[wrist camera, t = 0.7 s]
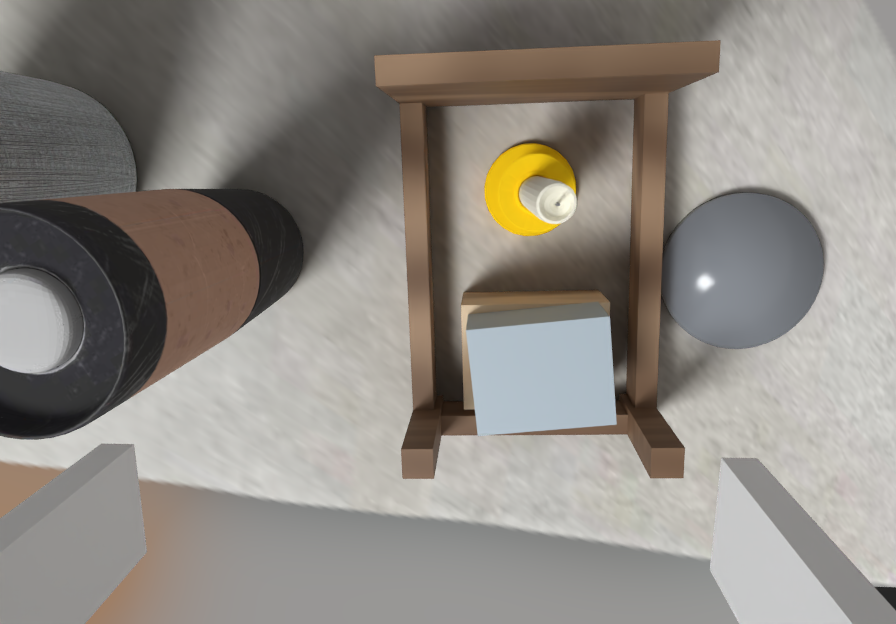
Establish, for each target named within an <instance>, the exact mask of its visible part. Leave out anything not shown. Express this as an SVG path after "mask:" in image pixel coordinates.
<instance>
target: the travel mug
mask: <svg viewBox="0 0 896 624" xmlns="http://www.w3.org/2000/svg"><path fill="white" fill-rule="evenodd" d="M302 262H303V243H302V238H301V235H300V232H299V229H298V227H297V225H296V223H295V221H294V220H293V218H292V216H291V215H290V214H289V213H288V211H287V210H286V209H285V208H284V207H283V206H282V205H281V204H279V203H278V202H277V201H275V200H274V199H272V198H270V197H268V196H267V195H264V194H262V193H259V192H255V191H250V190H242V189H162V190H150V191H139V192H127V193H115V194H103V195H91V196H79V197H67V198H55V199H43V200H31V201H19V202H7V203H0V436H3V437H8V438H15V439H45V438H52V437H56V436H60V435H64V434H67V433H70V432H72V431H74V430H77V429H79V428H81V427H83V426H85V425H87V424H89V423H90V422H92V421H94V420H95V419H97V418H99V417H100V416H102V415H104V414H105V413H107V412H108V411H110V410H112V409H113V408H115V407H116V406H118V405H120V404H121V403H123V402H124V401H126V400H128V399H129V398H131V397H133V396H134V395H136V394H137V393H139V392H141V391H142V390H144V389H145V388H147V387H149V386H150V385H152V384H154V383H155V382H157V381H158V380H160V379H162V378H163V377H165V376H166V375H168V374H170V373H171V372H173V371H175V370H176V369H178V368H179V367H181V366H183V365H184V364H186V363H187V362H189V361H191V360H192V359H194V358H196V357H197V356H199V355H200V354H202V353H204V352H205V351H207V350H208V349H210V348H212V347H213V346H215V345H217V344H218V343H220V342H221V341H223V340H225V339H226V338H228V337H229V336H231V335H232V334H234V333H235V332H236V331H238V330H239V329H240V328H242V327H243V326H244V325H246V324H247V323H248V322H250V321H251V320H252V319H254V318H255V317H256V316H258V315H259V314H260V313H262V312H263V311H264V310H266V309H267V308H268V307H270V306H271V305H272V304H274V303H275V302H276V301H277V300H279V299H280V298H281V297H282V296H283V295H285V294H286V293H287V292H288V290H289V289H290V288H291V287H292V286H293V284H294V283H295V281H296V279H297V278H298V276H299V273H300V270H301V267H302Z"/></svg>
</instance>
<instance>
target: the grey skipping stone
mask: <svg viewBox="0 0 896 624" xmlns="http://www.w3.org/2000/svg"><path fill="white" fill-rule="evenodd" d="M823 263H824V261H823V252H822V248H821V244H820V240H819V238H818V236H817V233H816V231H815V230H814V228H813V226H812V225H811V223H810V222H809V221H808V219H807V218H806V217H805V216H804V215H803V214H802V213H801V212H800V211H799V210H798V209H796V208H795V207H793V206H792V205H790V204H789V203H787V202H785V201H783V200H781V199H779V198H776V197H772V196H769V195H764V194H758V193H734V194H729V195H724V196H720V197H718V198H715V199H712V200H710V201H708V202H706V203H704V204H702V205H700V206H699V207H697V208H696V209H694V210H693V211H692V212H691V213H689V214H688V215H687V216H686V217H685V218H684V219H683V220H682V221H681V222H680V223H679V224H678V225H677V227H676V228H675V229H674V231H673V232H672V234H671V235H670V237H669V239H668V241H667V243H666V245H665V248H664V250H663V253H662V278H661V294H662V298H663V301H664V303H665V305H666V307H667V309H668V311H669V313H670V314H671V316H672V317H673V319H674V320H675V321H676V322H677V323H678V324H679V325H680V326H681V327H682V328H683V329H684V330H685V331H687V332H688V333H689V334H690V335H692V336H693V337H695V338H697V339H698V340H700V341H702V342H705V343H707V344H710V345H713V346H716V347H721V348H728V349H742V348H750V347H755V346H759V345H762V344H766V343H768V342H770V341H773V340H775V339H777V338H779V337H780V336H782V335H784V334H785V333H787V332H788V331H789V330H791V329H792V328H793V327H794V326H795V325H796V324H797V323H798V322H799V321H800V320H801V319H802V318H803V317H804V316H805V315H806V313H807V312H808V311H809V309H810V308H811V306H812V304H813V303H814V301H815V299H816V296H817V294H818V292H819V289H820V285H821V282H822V276H823Z"/></svg>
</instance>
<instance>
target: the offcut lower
mask: <svg viewBox="0 0 896 624" xmlns="http://www.w3.org/2000/svg"><path fill="white" fill-rule="evenodd" d="M589 302H599V303H600V305H601V306H602V307H603V308H604V310H605V311H606V312H607V314H608V315H609V316H610V302H609V301H608V300H607V299H606V298H605V296H604V295H603V294H602V293H601V292H600V291H599V290H566V291H515V292H464V293H463V298H462V303H461V323H462V360H463V397H464V410H467V409H475V407H474V398H473V389H472V380H471V371H470V362H469V353H468V344H467V335H466V326H467V319H468V314H477V313H487V312H498V311H508V310H518V309H528V308H538V307H548V306H559V305H569V304H579V303H589Z"/></svg>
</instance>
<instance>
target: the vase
mask: <svg viewBox="0 0 896 624" xmlns="http://www.w3.org/2000/svg"><path fill="white" fill-rule="evenodd" d="M136 183H137V173H136V165H135V160H134V156H133V152H132V149H131V146H130V143H129V141H128V139H127V137H126V135H125V133H124V131H123V130H122V128H121V126H120V125H119V123H118V122H117V121H116V119H115V118H114V117H113V116H112V115H111V113H110V112H109V111H108V110H107V109H106V108H105V107H104V106H102V105H101V104H100V103H99V102H98V101H96V100H95V99H93V98H92V97H90V96H89V95H87V94H85V93H83V92H81V91H79V90H77V89H75V88H72V87H69V86H65V85H62V84H59V83H55V82H51V81H47V80H43V79H38V78H33V77H28V76H23V75H18V74H13V73H8V72H3V71H0V203H7V202H19V201H31V200H43V199H55V198H67V197H79V196H91V195H103V194H115V193H127V192H136Z"/></svg>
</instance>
